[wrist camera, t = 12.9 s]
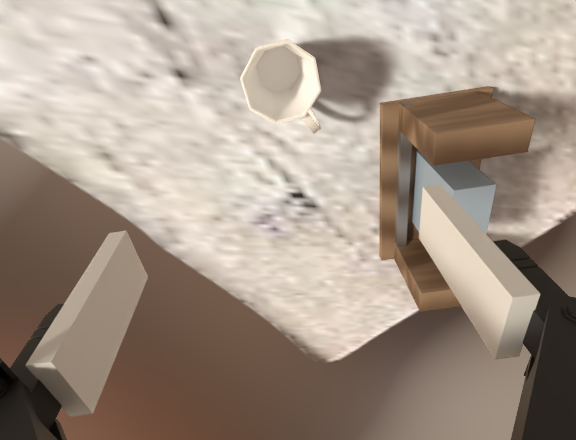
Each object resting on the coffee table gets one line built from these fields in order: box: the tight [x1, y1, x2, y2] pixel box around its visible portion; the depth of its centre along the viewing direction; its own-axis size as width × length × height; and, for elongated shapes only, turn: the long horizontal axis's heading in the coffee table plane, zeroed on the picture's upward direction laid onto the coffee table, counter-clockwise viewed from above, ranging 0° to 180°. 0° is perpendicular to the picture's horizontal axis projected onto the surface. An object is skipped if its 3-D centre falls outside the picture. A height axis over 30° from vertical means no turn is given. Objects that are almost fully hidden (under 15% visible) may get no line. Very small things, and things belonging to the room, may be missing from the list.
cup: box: [240, 39, 321, 133], centre depth 35 cm, size 7×10×8 cm
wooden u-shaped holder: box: [380, 86, 535, 311], centre depth 41 cm, size 22×12×11 cm, turn 8°
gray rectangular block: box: [412, 150, 497, 234], centre depth 41 cm, size 10×4×10 cm, turn 8°
